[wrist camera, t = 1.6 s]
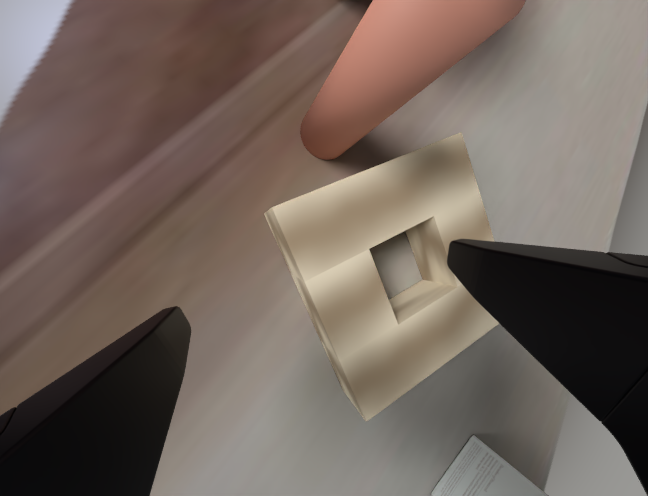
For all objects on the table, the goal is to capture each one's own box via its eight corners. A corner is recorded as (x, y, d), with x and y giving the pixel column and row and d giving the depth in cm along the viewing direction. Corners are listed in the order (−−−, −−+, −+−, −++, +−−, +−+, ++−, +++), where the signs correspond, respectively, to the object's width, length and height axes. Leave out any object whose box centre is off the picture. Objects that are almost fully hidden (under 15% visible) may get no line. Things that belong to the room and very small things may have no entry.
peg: (354, 151, 22) (543, 13, 9) (312, 166, 21) (455, 34, 7) (336, 103, 21) (510, -126, 8) (292, 116, 20) (409, -127, 7)
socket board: (475, 301, 27) (515, 311, 23) (343, 390, 22) (366, 422, 18) (425, 149, 24) (461, 132, 20) (264, 213, 19) (271, 207, 16)
